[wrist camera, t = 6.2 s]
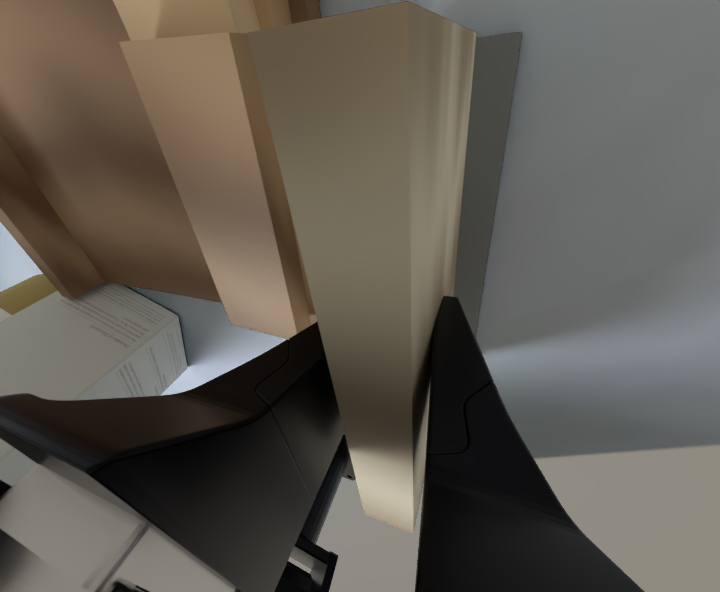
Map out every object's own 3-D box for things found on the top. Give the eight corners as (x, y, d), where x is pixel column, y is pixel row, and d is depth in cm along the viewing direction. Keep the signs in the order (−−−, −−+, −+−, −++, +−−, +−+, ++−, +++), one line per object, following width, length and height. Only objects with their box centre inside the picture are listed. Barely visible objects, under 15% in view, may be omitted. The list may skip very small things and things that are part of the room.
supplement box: (93, 266, 22) (-209, 424, 13) (182, 315, 22) (-64, 515, 12) (117, 329, 27) (-88, 475, 18) (190, 369, 27) (19, 541, 17)
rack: (361, 315, 15) (337, 356, 13) (104, 273, 22) (62, 296, 20) (297, -161, 7) (209, -246, 5) (-83, 4, 14) (-186, -4, 12)
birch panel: (447, 363, 15) (413, 533, 10) (413, 357, 15) (364, 514, 10) (476, 32, 8) (407, 1, 2) (411, 42, 8) (247, 31, 3)
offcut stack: (348, 316, 14) (318, 365, 12) (274, 304, 16) (236, 345, 14) (272, -136, 7) (159, -222, 5) (143, -83, 8) (10, -129, 6)
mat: (471, 365, 15) (470, 370, 14) (388, 349, 16) (387, 353, 16) (521, 32, 8) (522, 31, 7) (367, 54, 9) (363, 54, 9)
